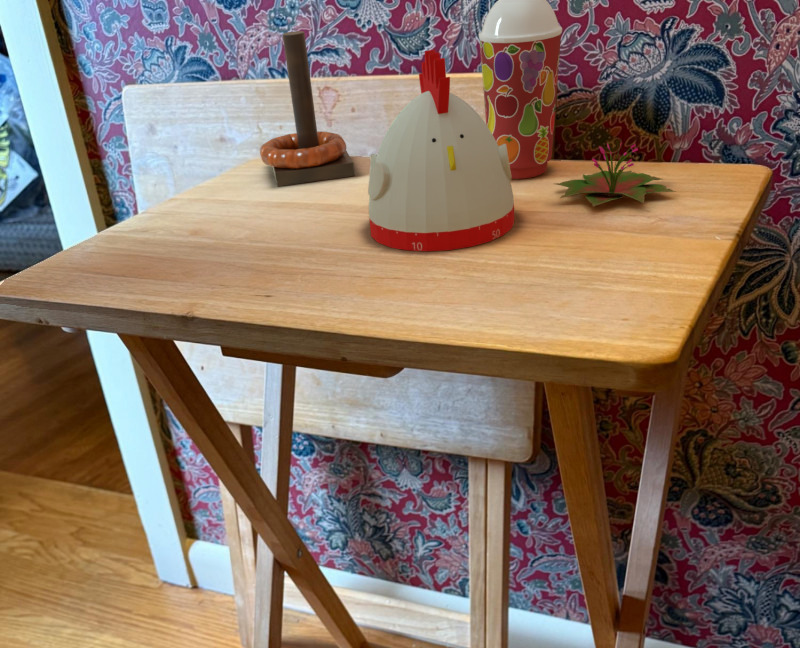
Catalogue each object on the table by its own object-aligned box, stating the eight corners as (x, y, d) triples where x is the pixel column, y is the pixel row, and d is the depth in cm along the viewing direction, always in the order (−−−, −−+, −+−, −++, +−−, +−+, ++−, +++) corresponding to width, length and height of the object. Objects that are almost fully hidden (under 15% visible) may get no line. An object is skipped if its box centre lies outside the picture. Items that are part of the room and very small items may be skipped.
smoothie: (538, 157, 102) (540, -50, 90) (572, 174, 96) (579, -46, 84) (470, 169, 100) (463, -40, 88) (500, 188, 94) (497, -35, 82)
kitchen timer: (384, 260, 80) (367, 75, 71) (359, 215, 90) (340, 50, 82) (533, 236, 81) (534, 52, 72) (490, 195, 92) (487, 31, 83)
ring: (265, 175, 100) (261, 156, 99) (259, 154, 108) (256, 136, 107) (352, 163, 101) (350, 144, 100) (340, 143, 109) (338, 125, 108)
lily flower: (532, 189, 93) (532, 142, 90) (636, 170, 95) (639, 124, 92) (585, 221, 83) (587, 170, 81) (698, 199, 86) (704, 149, 83)
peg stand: (277, 186, 102) (254, 43, 93) (272, 166, 109) (250, 32, 100) (354, 176, 102) (339, 33, 94) (344, 157, 110) (329, 23, 101)
